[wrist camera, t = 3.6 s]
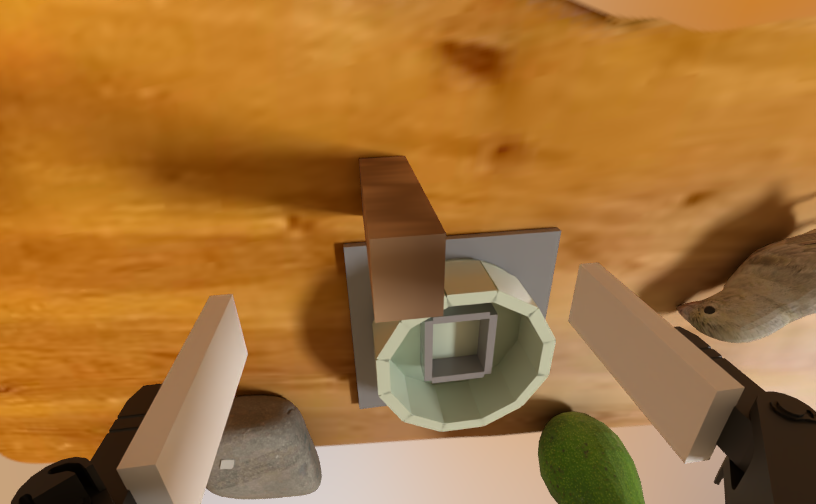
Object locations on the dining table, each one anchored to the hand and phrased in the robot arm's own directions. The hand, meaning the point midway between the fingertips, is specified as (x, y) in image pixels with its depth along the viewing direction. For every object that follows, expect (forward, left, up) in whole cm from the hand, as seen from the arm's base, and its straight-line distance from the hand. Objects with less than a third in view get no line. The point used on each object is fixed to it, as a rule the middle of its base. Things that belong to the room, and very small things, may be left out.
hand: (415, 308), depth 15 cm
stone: (-11, -21, -14) cm, 28 cm away
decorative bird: (+32, -8, -14) cm, 36 cm away
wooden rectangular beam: (0, 0, -14) cm, 14 cm away
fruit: (+17, -26, -14) cm, 34 cm away
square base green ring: (+5, -12, -13) cm, 18 cm away
